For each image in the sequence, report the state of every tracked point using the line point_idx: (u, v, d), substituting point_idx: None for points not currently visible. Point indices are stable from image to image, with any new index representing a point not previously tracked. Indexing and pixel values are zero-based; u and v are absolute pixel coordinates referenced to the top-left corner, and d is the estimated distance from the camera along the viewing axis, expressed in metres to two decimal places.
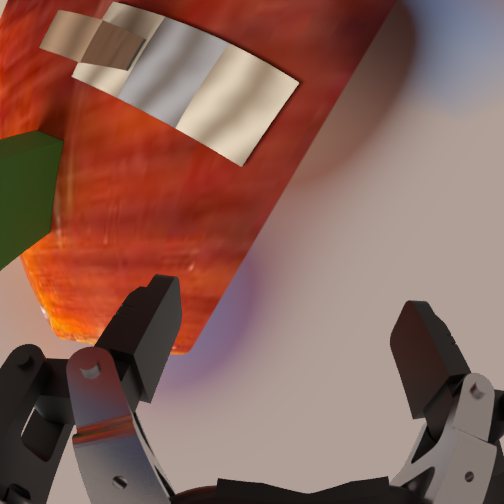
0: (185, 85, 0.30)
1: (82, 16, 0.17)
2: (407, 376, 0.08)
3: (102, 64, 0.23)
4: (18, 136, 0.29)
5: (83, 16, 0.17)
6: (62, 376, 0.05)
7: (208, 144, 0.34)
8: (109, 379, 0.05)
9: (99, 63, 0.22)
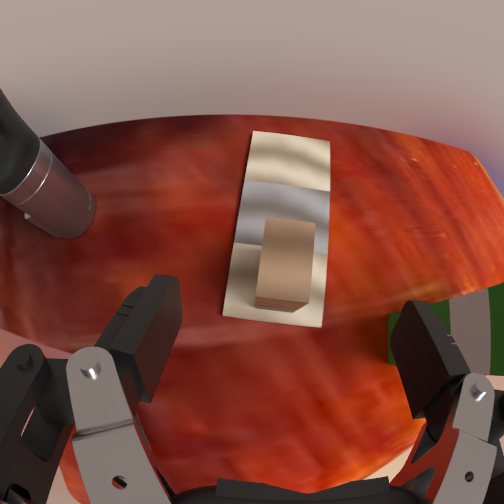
0: (293, 196, 0.41)
1: (263, 247, 0.27)
2: (407, 376, 0.08)
3: None
4: None
5: (263, 245, 0.27)
6: (62, 376, 0.05)
7: (328, 165, 0.43)
8: (109, 379, 0.05)
9: None
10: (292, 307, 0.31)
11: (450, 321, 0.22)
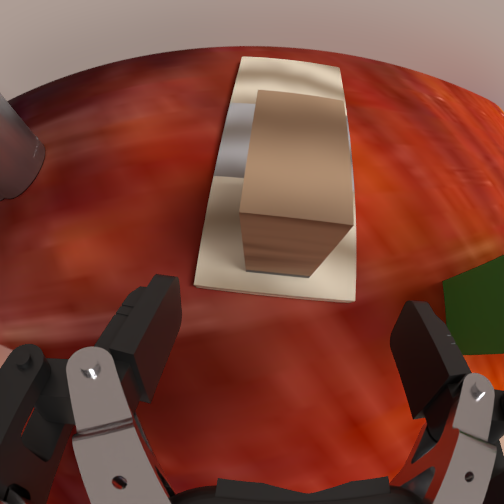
0: None
1: (255, 128, 0.13)
2: (407, 376, 0.08)
3: None
4: (482, 345, 0.16)
5: (254, 126, 0.13)
6: (62, 376, 0.05)
7: (340, 89, 0.29)
8: (109, 379, 0.05)
9: None
10: (312, 255, 0.17)
11: None
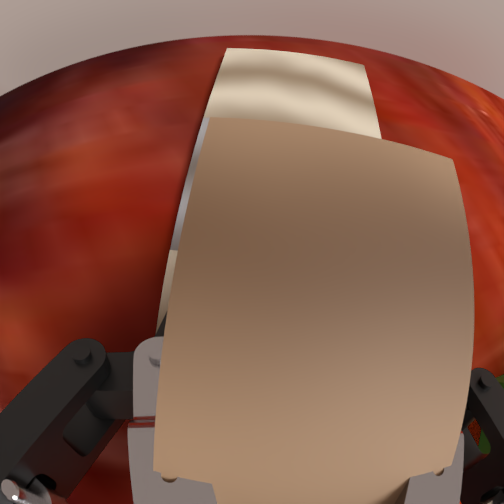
0: None
1: (181, 297, 0.04)
2: None
3: None
4: None
5: (181, 285, 0.04)
6: (124, 369, 0.06)
7: (369, 96, 0.19)
8: None
9: None
10: None
11: None
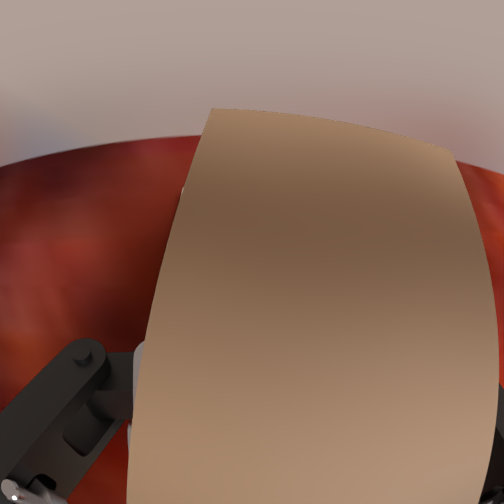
0: None
1: (173, 269, 0.03)
2: None
3: None
4: None
5: (174, 257, 0.03)
6: (124, 369, 0.06)
7: None
8: None
9: None
10: None
11: None
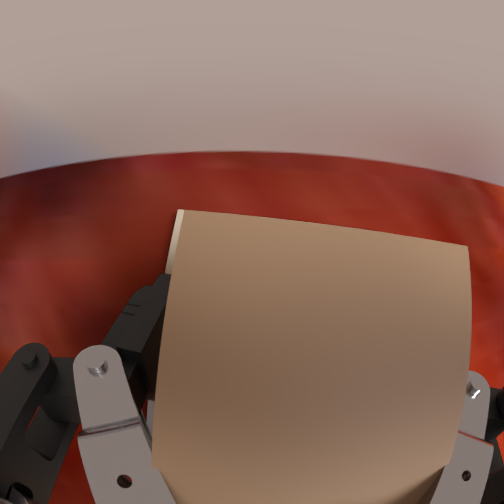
0: None
1: (164, 427, 0.03)
2: None
3: None
4: None
5: (163, 416, 0.03)
6: (68, 375, 0.05)
7: None
8: (117, 377, 0.05)
9: None
10: None
11: None
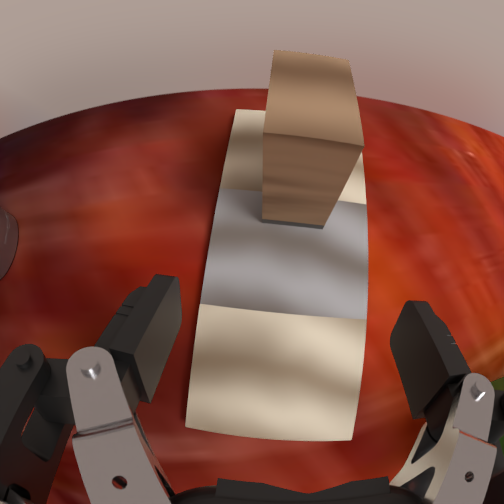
0: None
1: (273, 76, 0.14)
2: (407, 376, 0.08)
3: None
4: None
5: (273, 74, 0.14)
6: (62, 376, 0.05)
7: (359, 159, 0.25)
8: (109, 379, 0.05)
9: None
10: (327, 192, 0.17)
11: None
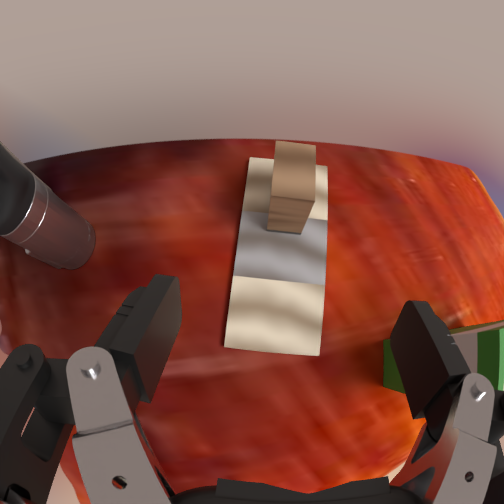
0: None
1: (275, 161, 0.33)
2: (407, 376, 0.08)
3: None
4: (399, 386, 0.31)
5: (275, 160, 0.33)
6: (62, 376, 0.05)
7: (325, 192, 0.44)
8: (109, 379, 0.05)
9: None
10: (300, 217, 0.36)
11: None
